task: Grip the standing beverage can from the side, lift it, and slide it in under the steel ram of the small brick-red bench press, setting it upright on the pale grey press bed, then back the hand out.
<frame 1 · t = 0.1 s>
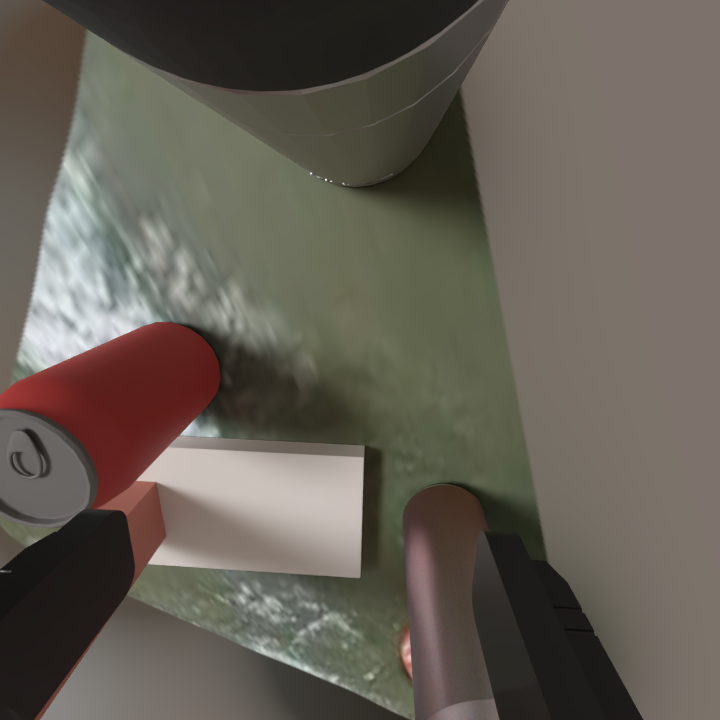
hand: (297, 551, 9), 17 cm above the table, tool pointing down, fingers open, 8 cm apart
beer can: (178, 365, 27), on the table
bench press: (272, 502, 30), on the table
beverage can: (441, 510, 29), on the table
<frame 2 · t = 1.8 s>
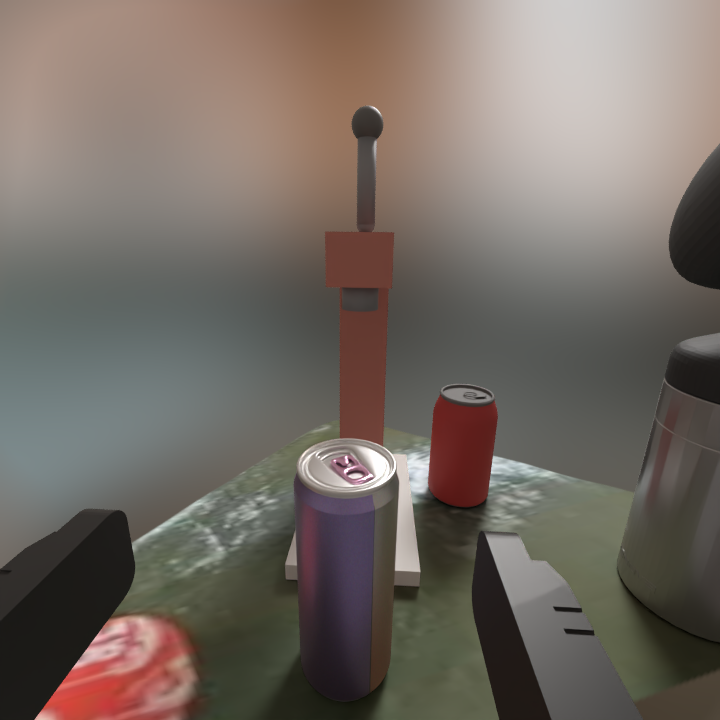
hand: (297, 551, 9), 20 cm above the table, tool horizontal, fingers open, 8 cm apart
beer can: (456, 493, 44), on the table
bench press: (356, 523, 38), on the table
beverage can: (345, 660, 26), on the table
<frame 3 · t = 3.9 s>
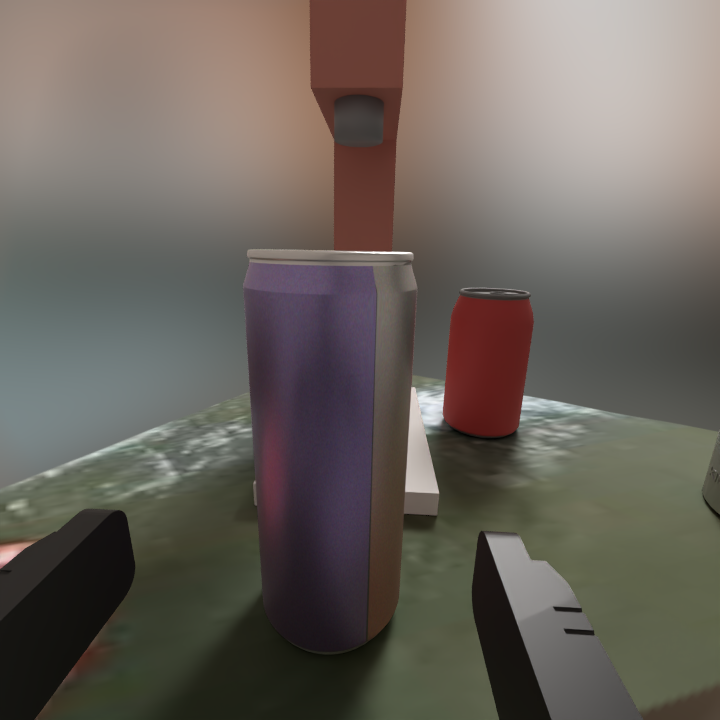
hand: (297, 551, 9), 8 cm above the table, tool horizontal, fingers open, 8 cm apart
beer can: (478, 426, 35), on the table
bench press: (353, 451, 30), on the table
beverage can: (331, 600, 17), on the table
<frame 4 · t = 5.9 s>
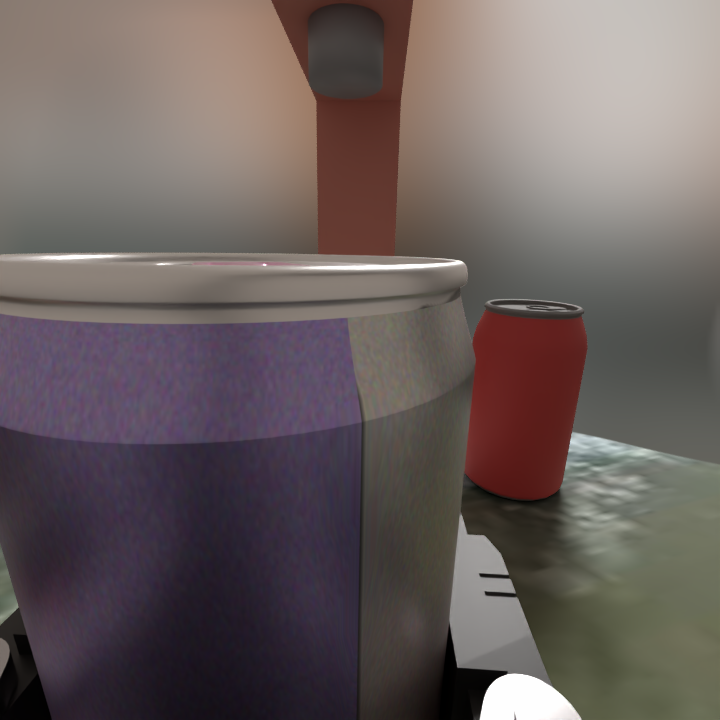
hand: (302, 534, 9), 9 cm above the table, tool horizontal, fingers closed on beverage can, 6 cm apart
beer can: (507, 478, 27), on the table
bench press: (343, 527, 22), on the table
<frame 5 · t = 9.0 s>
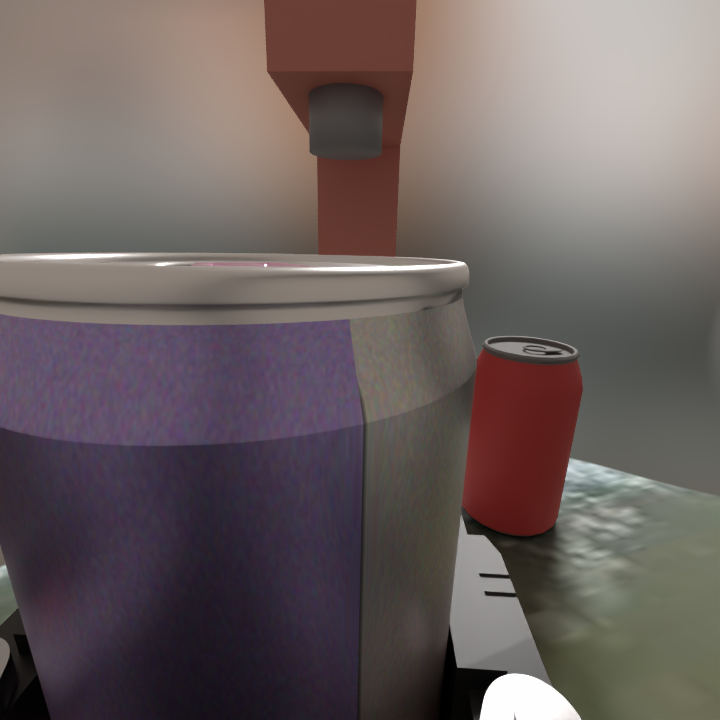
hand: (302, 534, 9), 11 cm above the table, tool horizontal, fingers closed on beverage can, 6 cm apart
beer can: (504, 510, 28), on the table
bench press: (342, 565, 22), on the table
when the fingers open (11 cm above the table, at t = 12.4 s): beverage can drops 1 cm, resting on bench press.
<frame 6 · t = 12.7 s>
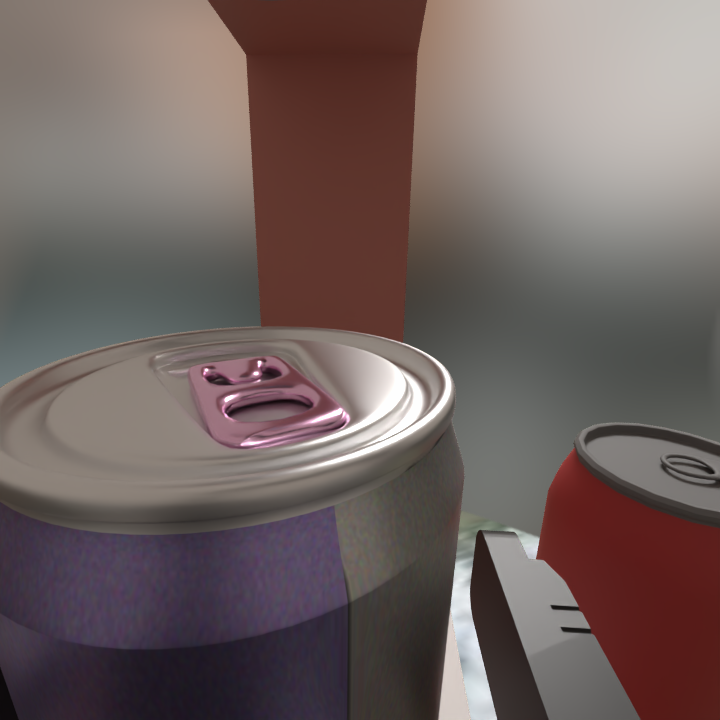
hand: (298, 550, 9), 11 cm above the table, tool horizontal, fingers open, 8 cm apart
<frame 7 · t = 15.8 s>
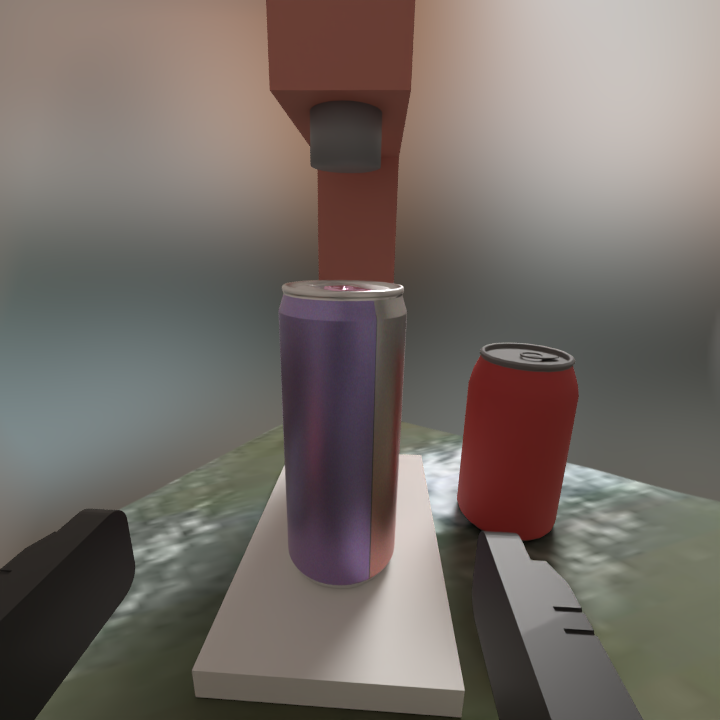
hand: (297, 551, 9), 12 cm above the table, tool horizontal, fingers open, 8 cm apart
beer can: (502, 515, 28), on the table
bench press: (342, 570, 23), on the table
beverage can: (341, 553, 22), point 1 cm above the table, touching bench press
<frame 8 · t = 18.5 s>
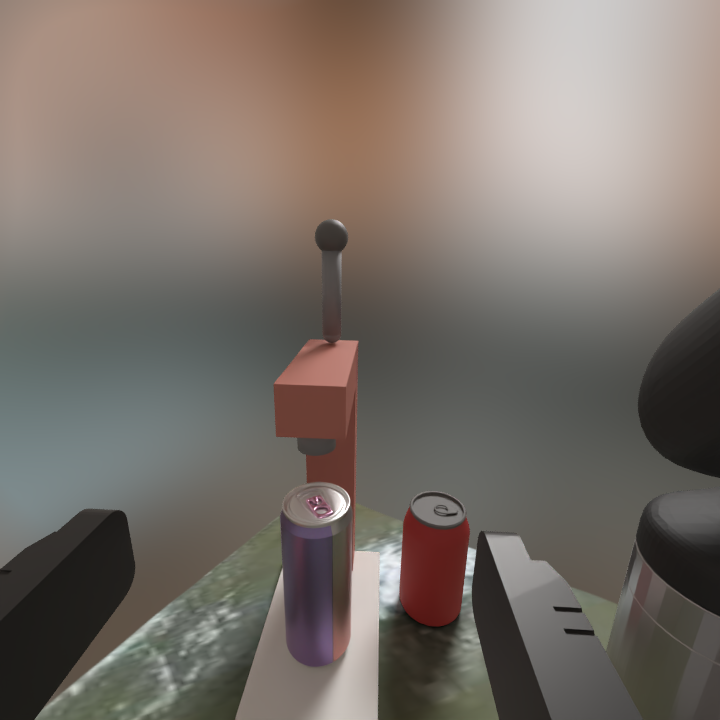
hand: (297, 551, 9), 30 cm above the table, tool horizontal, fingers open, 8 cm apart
beer can: (429, 603, 42), on the table
bench press: (319, 649, 37), on the table
beverage can: (318, 640, 36), point 1 cm above the table, touching bench press
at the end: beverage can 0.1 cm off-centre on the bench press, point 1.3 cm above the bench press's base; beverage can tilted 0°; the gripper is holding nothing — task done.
